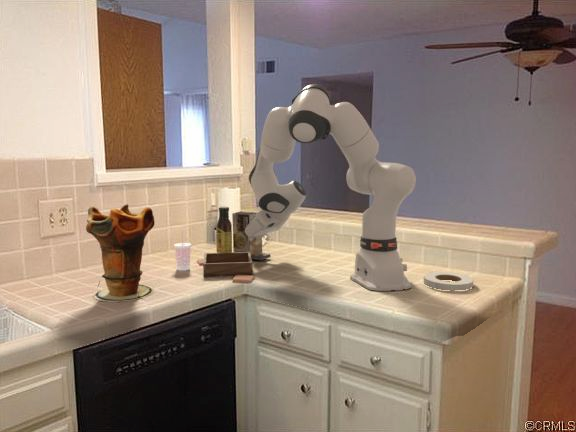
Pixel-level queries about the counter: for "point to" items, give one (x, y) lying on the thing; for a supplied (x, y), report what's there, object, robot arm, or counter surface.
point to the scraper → (257, 249)
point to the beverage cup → (182, 255)
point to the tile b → (243, 278)
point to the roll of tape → (436, 281)
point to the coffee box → (241, 230)
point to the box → (227, 264)
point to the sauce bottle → (224, 232)
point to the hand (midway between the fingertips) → (254, 238)
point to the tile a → (200, 261)
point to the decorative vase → (121, 251)
